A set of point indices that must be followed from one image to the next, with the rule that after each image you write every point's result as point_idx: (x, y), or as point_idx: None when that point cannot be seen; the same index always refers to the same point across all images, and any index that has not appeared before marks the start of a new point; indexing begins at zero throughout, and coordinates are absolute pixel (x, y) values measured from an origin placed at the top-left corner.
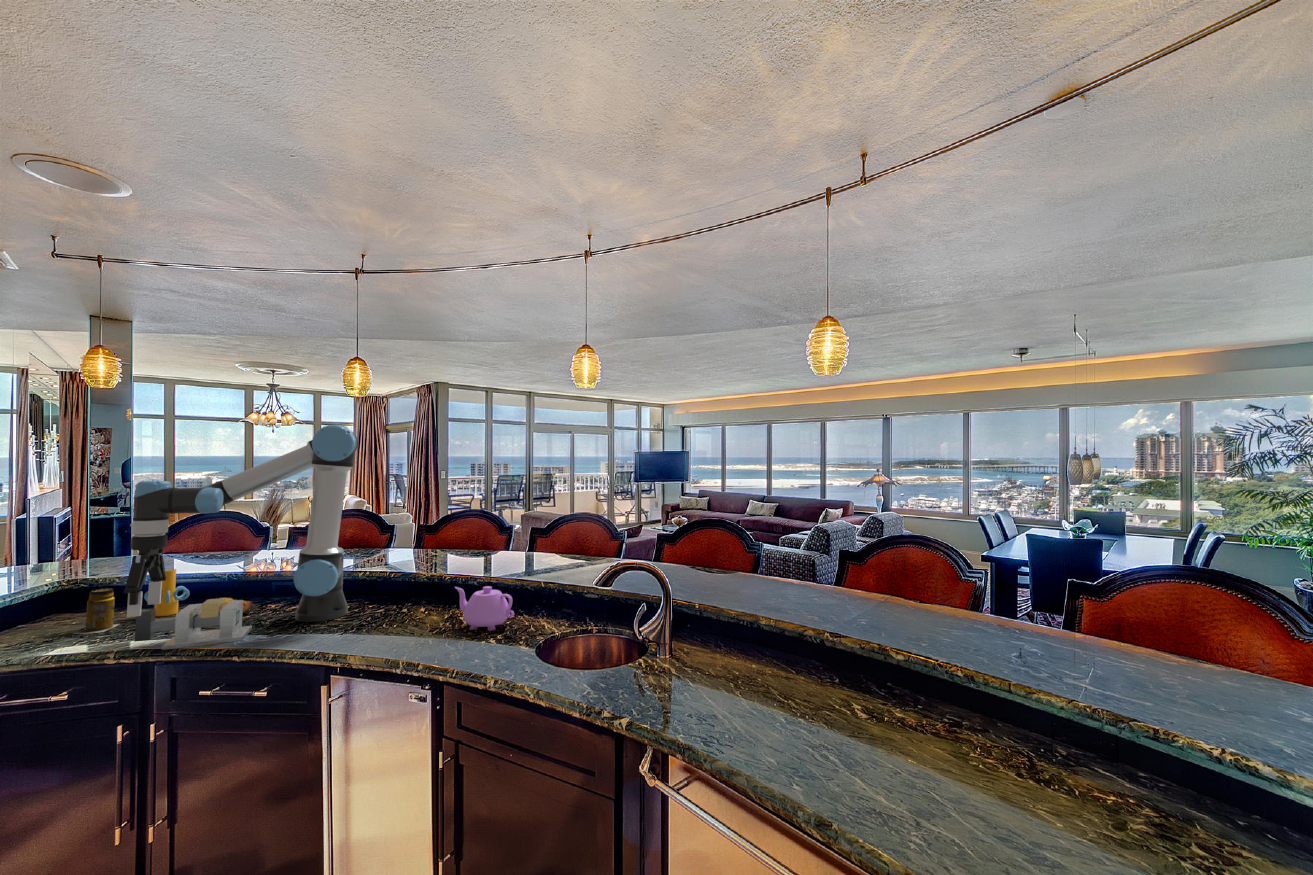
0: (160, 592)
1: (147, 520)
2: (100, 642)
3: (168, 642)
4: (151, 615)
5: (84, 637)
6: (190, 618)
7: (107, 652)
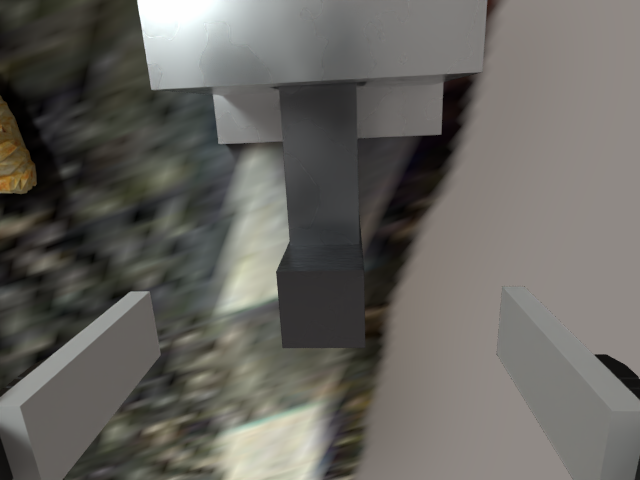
0: (95, 335)
1: None
2: (204, 406)
3: (379, 128)
4: (352, 258)
5: (115, 475)
6: None
7: (368, 335)
